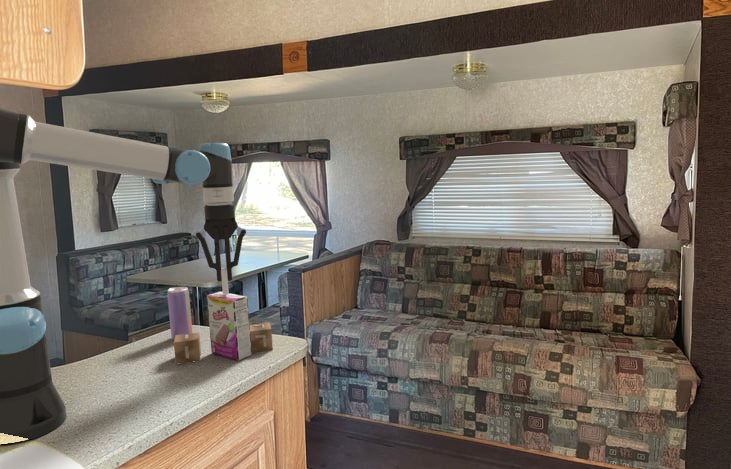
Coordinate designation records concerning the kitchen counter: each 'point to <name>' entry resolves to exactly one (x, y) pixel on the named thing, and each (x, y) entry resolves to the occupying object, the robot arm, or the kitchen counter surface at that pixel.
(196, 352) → the walnut block one
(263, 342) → the walnut block seven
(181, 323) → the beverage can
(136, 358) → the kitchen counter surface
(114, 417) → the kitchen counter surface
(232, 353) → the candy bar box
